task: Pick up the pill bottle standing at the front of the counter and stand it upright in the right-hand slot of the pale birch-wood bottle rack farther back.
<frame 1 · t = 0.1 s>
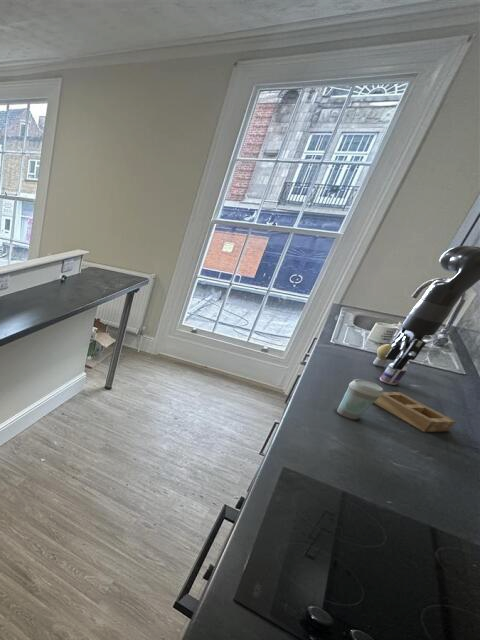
hand: (392, 363, 128), 20 cm above the worktop, tool pointing down, fingers open, 8 cm apart
rack: (407, 415, 140), on the worktop
pill bottle: (387, 382, 163), on the worktop
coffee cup: (347, 414, 137), on the worktop
light bulb: (377, 365, 176), on the worktop
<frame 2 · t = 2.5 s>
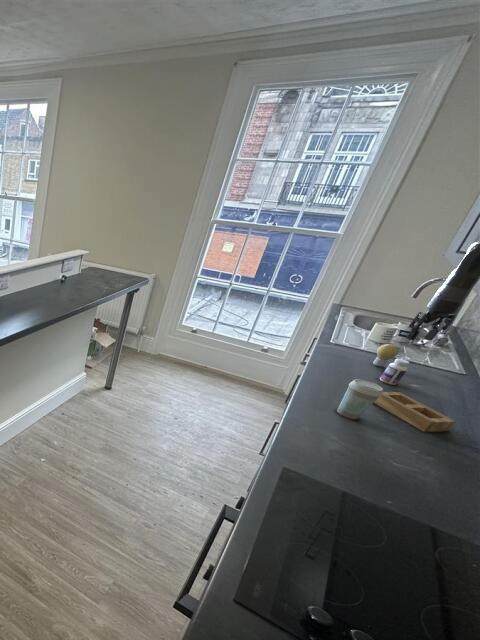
hand: (418, 339, 151), 20 cm above the worktop, tool pointing down, fingers open, 8 cm apart
nothing on the worktop moved.
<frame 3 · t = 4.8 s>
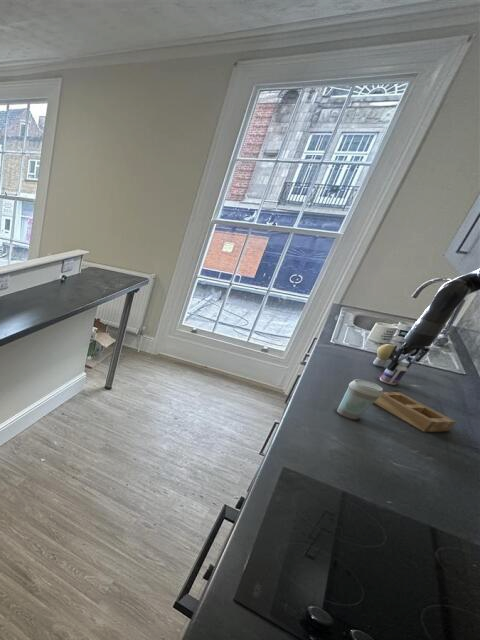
hand: (396, 370, 160), 5 cm above the worktop, tool pointing down, fingers closed on pill bottle, 5 cm apart
pill bottle: (387, 382, 163), on the worktop, touching gripper
everything else where it was.
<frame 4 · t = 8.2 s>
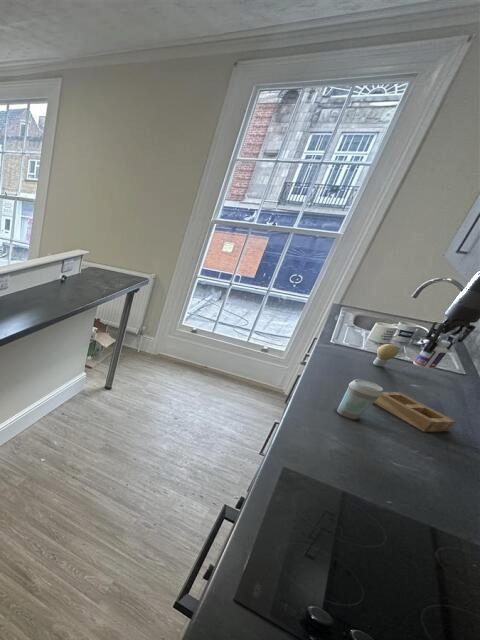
hand: (433, 352, 135), 21 cm above the worktop, tool pointing down, fingers closed on pill bottle, 5 cm apart
pill bottle: (422, 366, 138), point 16 cm above the worktop, touching gripper
everything else where it was.
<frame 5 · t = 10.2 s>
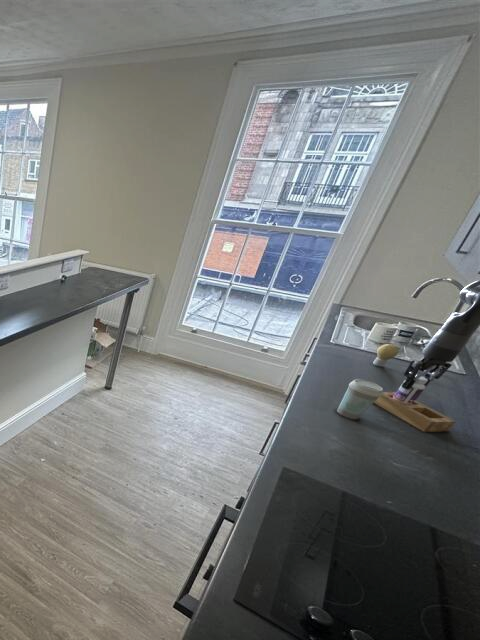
hand: (412, 388, 139), 9 cm above the worktop, tool pointing down, fingers closed on pill bottle, 5 cm apart
pill bottle: (401, 401, 142), point 3 cm above the worktop, touching gripper
everything else where it was.
when the fingers open (5 cm above the worktop, at t = 11.8 s): pill bottle stays where it is, resting in rack.
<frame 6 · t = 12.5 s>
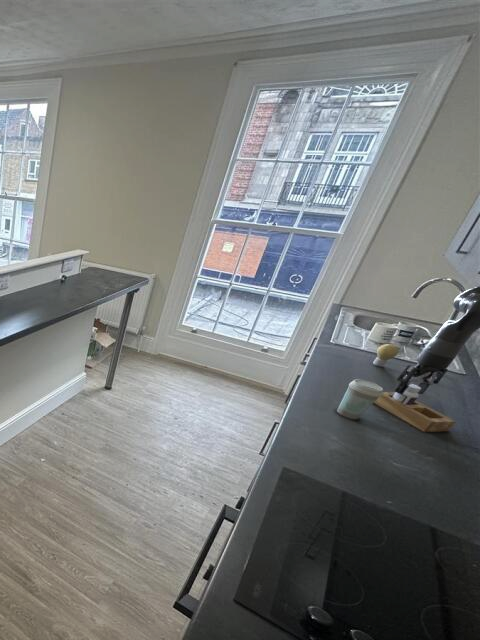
hand: (408, 392, 140), 7 cm above the worktop, tool pointing down, fingers open, 8 cm apart
pill bottle: (395, 409, 144), resting in rack
everything else where it was.
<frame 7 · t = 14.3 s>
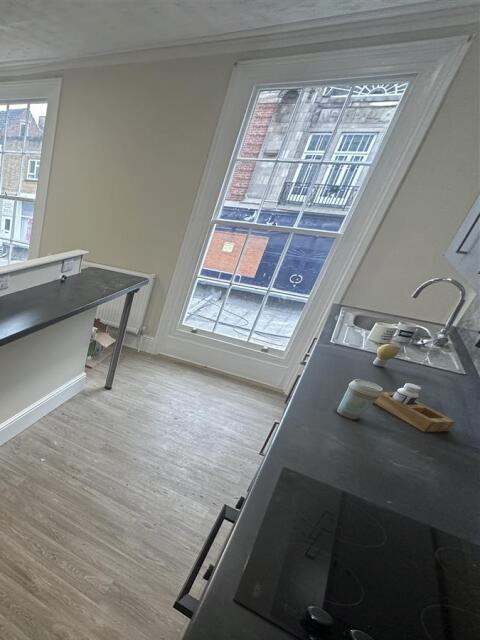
nothing on the worktop moved.
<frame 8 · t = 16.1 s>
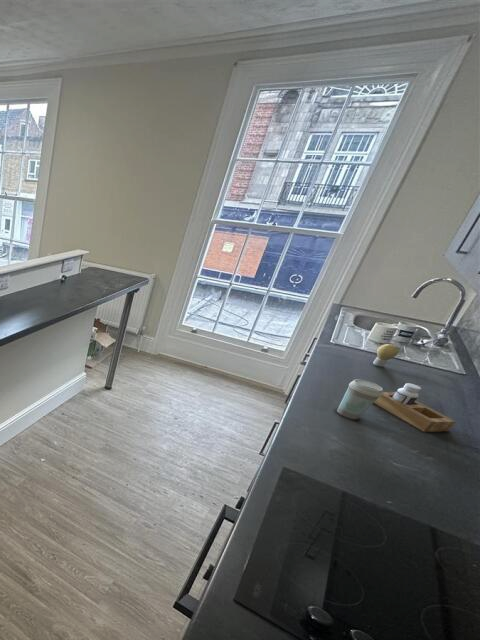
nothing on the worktop moved.
at the end: pill bottle 0.1 cm from the target spot in the rack, point 0.0 cm above the rack's base; pill bottle tilted 0°; the gripper is holding nothing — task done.
